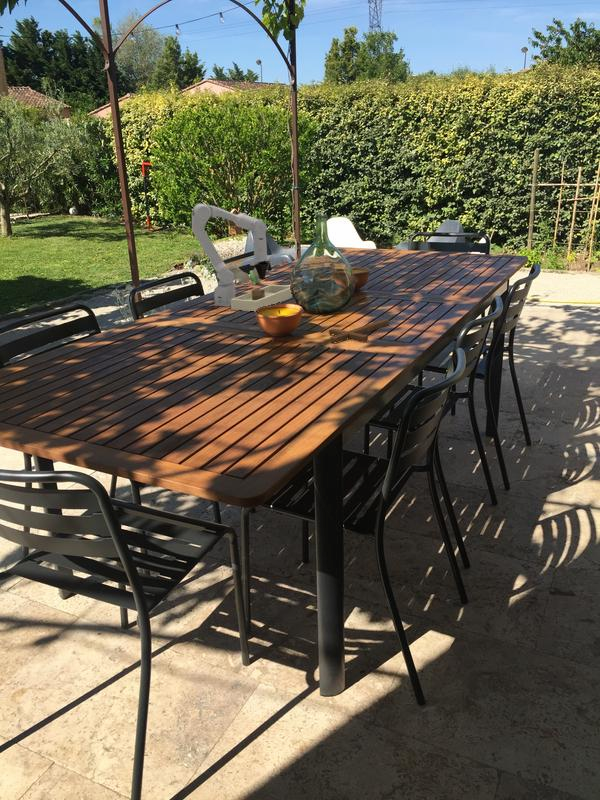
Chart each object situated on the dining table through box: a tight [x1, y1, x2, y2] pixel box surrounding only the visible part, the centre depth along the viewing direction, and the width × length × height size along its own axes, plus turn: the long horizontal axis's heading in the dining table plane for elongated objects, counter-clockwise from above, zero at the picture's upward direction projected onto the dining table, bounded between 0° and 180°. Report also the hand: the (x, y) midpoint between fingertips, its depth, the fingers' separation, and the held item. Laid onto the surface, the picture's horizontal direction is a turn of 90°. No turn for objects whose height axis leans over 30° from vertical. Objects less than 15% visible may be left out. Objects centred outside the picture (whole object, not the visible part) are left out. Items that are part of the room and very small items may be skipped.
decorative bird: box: [228, 261, 271, 286], centre depth 321 cm, size 24×10×15 cm
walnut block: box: [251, 288, 265, 300], centre depth 279 cm, size 4×4×4 cm
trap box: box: [230, 284, 293, 313], centre depth 283 cm, size 32×13×4 cm, turn 150°
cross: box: [328, 318, 390, 343], centre depth 230 cm, size 16×2×30 cm
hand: (262, 279), depth 286 cm, fingers closed
